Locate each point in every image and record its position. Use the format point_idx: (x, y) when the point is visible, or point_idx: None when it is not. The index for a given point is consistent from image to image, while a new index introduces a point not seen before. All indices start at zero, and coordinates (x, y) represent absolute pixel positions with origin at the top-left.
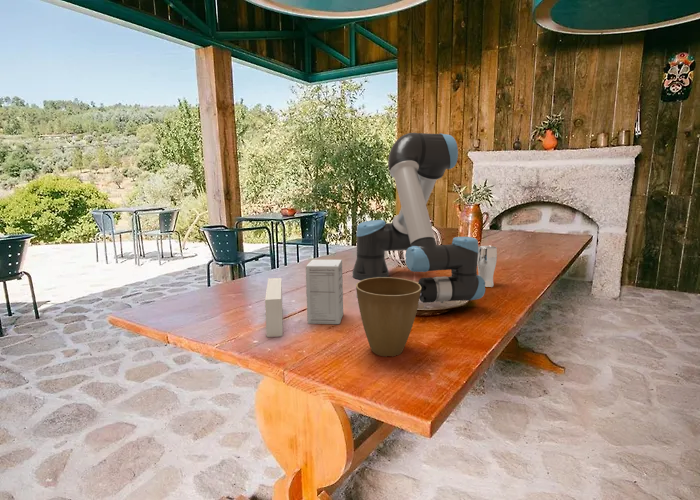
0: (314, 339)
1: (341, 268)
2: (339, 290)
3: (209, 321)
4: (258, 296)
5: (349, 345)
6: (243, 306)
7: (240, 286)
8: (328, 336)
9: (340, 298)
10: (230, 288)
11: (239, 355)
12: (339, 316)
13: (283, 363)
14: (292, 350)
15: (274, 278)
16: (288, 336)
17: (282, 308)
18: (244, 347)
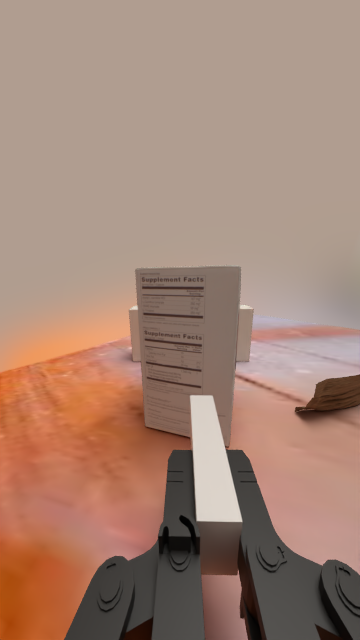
0: (95, 385)
1: (203, 292)
2: (148, 345)
3: None
4: (303, 345)
5: (14, 429)
6: (251, 339)
7: (341, 334)
8: (92, 402)
9: (158, 371)
10: (323, 330)
11: (104, 343)
12: (145, 409)
13: (52, 362)
14: (79, 367)
15: (248, 306)
16: (128, 365)
17: (248, 360)
18: (120, 344)
